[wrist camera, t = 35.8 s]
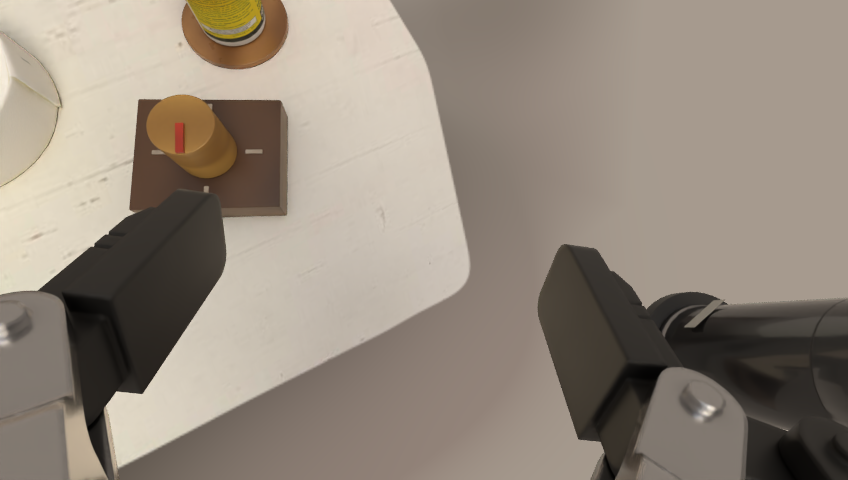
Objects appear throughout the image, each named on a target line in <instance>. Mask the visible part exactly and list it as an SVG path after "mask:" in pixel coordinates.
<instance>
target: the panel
mask: <svg viewBox="0 0 848 480" xmlns="http://www.w3.org/2000/svg"><path fill="white" fill-rule="evenodd" d="M160 101H162V100H147V99H139V101H138V113H137V125H136V137H135V149H134V161H133V173H132V185H131V197H130V210H131V211H133V212H135V213H138V212H140V211H142V210H144V209H147V208H149V207H155V208H156V207H157V206H159V205H160V204H161V203H162V202H163V201H164V200H165V199H166V198H168V197H169V196H170V195H171V194H172V193H173V192H174V191H176V190H177V189H186V190H193V191H200V192H208V193H214V194H216V195H217V196H218V197H219V199H220V203H221V210H222V217H240V216H280V215H287V122H288V117H287V114H286V112H285V109H284V107H283V105H282V102H281V101H280V100H202V101H204V102H205V103H206V104H207V105H208V106H209V107H210V108H211V110H212V111H213V112H214V113H215V115H216V116H217V117H218V119H219V120H220V121H221V123H222V124H223V125H224V127H225V128H226V129H227V131H228V132H229V133H230V134H231V136H232V137H233V139H234V140H235V143H236V146H237V156H236V159H235V162H234V164H233V165H232V167H231V168H230V169H229V170H228V171H226V172H225V173H224V174H222V175H220V176H217V177H214V178H199V177H196V176H193V175H191V174H189V173H188V172H187V171H185V170H184V169H183V168H182V167H180V166H179V165H178V164H177V163H176V162H174V161H173V160H172V159H171V158H169V157H168V156H167V155H166V154H164V153H163V152H162V151H161V150H160V149H158V148H157V147H156V146H155V145H154V144H153V143H152V142H151V140H150V138H149V136H148V134H147V128H146V124H147V118H148V116H149V113H150V112H151V110H152V109H153V107H154V106H155V105H156V104H158V103H159V102H160Z"/></svg>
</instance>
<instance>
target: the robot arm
mask: <svg viewBox="0 0 848 480" xmlns="http://www.w3.org/2000/svg"><path fill="white" fill-rule="evenodd" d="M225 262H226V244H225V236H224V227H223V219H222V210H221V203H220V199H219V197H218V196H217V195H216V194H214V193H208V192H200V191H193V190H186V189H177V190H176V191H174V192H173V193H172V194H171V195H170V196H169V197H168V198H166V199H165V200H164V201H163V202H162V203H161V204H160V205H159V206H157V207H156V208H155V207H149V208H147V209H144V210H142V211H140V212H138V213H135V214H133V215H131V216H128V217H126V218H125V219H124V220H122V221H121V222H120V223H119V224H118V225H116V226H115V227H114V228H113V229H112V230H110V231H109V235H104V236H103V237H102V238H101V239H100V240H98V241H97V242H96V243H95V246H94V247H90V248H89V249H87V250H86V251H85V252H84V253H83V254H81V255H80V256H79V257H78V258H77V259H75V260H74V261H73V262H72V263H71V264H69V265H68V266H67V267H66V268H65V269H63V270H62V271H61V272H60V273H59V274H57V275H56V276H55V277H54V278H52V279H51V280H50V281H49V282H48V283H46V284H45V285H44V286H43V287H42V288H40V289H39V290H38V291H20V292H12V293H7V294H2V295H0V480H119V474H118V468H117V462H116V456H115V450H114V444H113V438H112V432H111V426H110V420H109V414H108V411H107V409H106V405H107V403H108V402H109V401H110V399H111V398H112V397H113V395H114V394H115V392H116V391H119V392H129V393H138V394H143V392H144V391H145V389H146V388H147V386H148V385H149V383H150V382H151V380H152V379H153V377H154V376H155V374H156V373H157V371H158V370H159V368H160V367H161V365H162V364H163V362H164V361H165V359H166V358H167V356H168V355H169V353H170V352H171V350H172V349H173V347H174V346H175V344H176V343H177V341H178V340H179V338H180V337H181V335H182V334H183V332H184V331H185V329H186V328H187V326H188V325H189V323H190V322H191V320H192V319H193V317H194V316H195V314H196V313H197V311H198V310H199V308H200V307H201V305H202V304H203V302H204V301H205V299H206V298H207V296H208V295H209V293H210V292H211V290H212V289H213V287H214V286H215V284H216V283H217V281H218V280H219V278H220V277H221V275H222V272H223V270H224V266H225ZM723 301H724V300H713V301H712V302H711V303H710V304H709V305H692V306H686V307H682V308H680V309H678V310H676V311H674V312H673V313H671V314H670V315H669V316H668V317H667V318H666V319H665V320H664V322H663V323H662V325H661V326H660V329H659V328H658V327H657V325H656V324H655V322H654V321H653V320H651V319H650V318H651V316H650V315H649V313H648V311H647V310H646V308H645V307H644V306H642V302H641V301H640V299H639V298H638V296H637V295H636V293H635V291H634V290H633V288H632V287H631V286H630V285H629V284H628V283H626V282H625V281H624V280H623V279H622V278H621V277H620V276H619V275H617V274H616V273H615V272H613V271H610V270H609V268H608V266H607V265H606V263H605V262H604V260H603V258H602V257H601V255H600V253H599V252H598V251H597V250H596V249H594V248H588V247H581V246H574V245H567V244H564V245H562V246H561V247H560V248H559V249H558V251H557V253H556V256H555V258H554V260H553V263H552V265H551V268H550V270H549V273H548V275H547V277H546V280H545V282H544V285H543V287H542V289H541V292H540V296H539V300H538V317H539V320H540V323H541V326H542V329H543V332H544V335H545V339H546V341H547V345H548V348H549V351H550V354H551V357H552V360H553V363H554V366H555V369H556V372H557V375H558V378H559V382H560V384H561V388H562V391H563V394H564V397H565V400H566V403H567V406H568V409H569V412H570V415H571V418H572V421H573V424H574V427H575V431H576V434H577V437H578V439H580V440H589V441H599V442H601V444H602V446H603V449H604V453H603V454H602V456H601V457H600V459H599V461H598V462H597V465H596V467H595V470H594V472H593V475H592V477H591V480H848V298H834V299H817V300H799V301H782V302H764V303H747V304H730V305H727V304H726V305H720V304H721V303H722V302H723ZM780 428H781V429H780ZM783 429H785V430H783ZM786 430H789V431H786Z"/></svg>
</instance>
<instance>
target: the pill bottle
mask: <svg viewBox="0 0 848 480" xmlns="http://www.w3.org/2000/svg"><path fill="white" fill-rule="evenodd" d="M185 1H186V2H187V4H188V6H189V7H190V9H191V11H192V12H193V14H194V16H195V18H196V19H197V21H198V23H199V24H200V26H201V28H202V29H203V31H204V32H205V33H206V35H207V36H208V37H209V38H211V39H212V40H213V41H215V42H217V43H219V44H221V45H225V46H241V45H245V44H248V43H250V42H252V41H253V40H255V39H256V38H257V37H258V36H259V35H260V34H261V32H262V31H263V29H264V26H265V12H264V9H263V5H262V2H261V0H185Z"/></svg>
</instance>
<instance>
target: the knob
mask: <svg viewBox="0 0 848 480" xmlns="http://www.w3.org/2000/svg"><path fill="white" fill-rule="evenodd" d="M146 128H147V134H148V136H149V138H150V140H151V142H152V143H153V144H154V145H155V146H156V147H157V148H158V149H160V150H161V151H162V152H163V153H164V154H166V155H167V156H168V157H169V158H171V159H172V160H173V161H174V162H176V163H177V164H178V165H179V166H180V167H182V168H183V169H184V170H185V171H187V172H188V173H189V174H191V175H193V176H196V177H199V178H214V177H217V176H220V175H222V174H224V173H225V172H226V171H228V170H229V169H230V168H231V167H232V165H233V164H234V162H235V159H236V156H237V146H236V143H235V140H234V139H233V137H232V136H231V134H230V133H229V132H228V131H227V129H226V128H225V127H224V125H223V124H222V123H221V121H220V120H219V119H218V117H217V116H216V115H215V113H214V112H213V111H212V110H211V108H210V107H209V106H208V105H207V104H206V103H205V102H204V101H202V100H201V99H199V98H196V97H194V96H190V95H175V96H171V97H168V98H166V99H163V100H162V101H160V102H159V103H158V104H156V105H155V106H154V107H153V109H152V110H151V112H150V113H149V116H148V118H147V124H146Z"/></svg>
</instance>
